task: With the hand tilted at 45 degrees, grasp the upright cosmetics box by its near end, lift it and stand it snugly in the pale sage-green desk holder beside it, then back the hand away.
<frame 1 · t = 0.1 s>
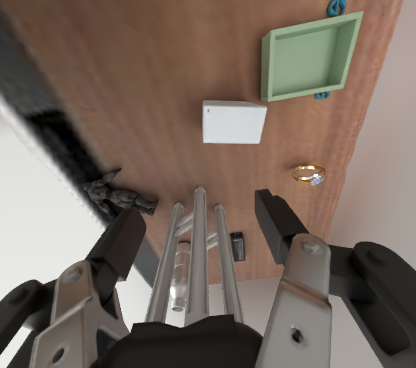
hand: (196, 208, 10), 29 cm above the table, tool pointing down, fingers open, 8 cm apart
multiport hub: (237, 244, 59), on the table
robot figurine: (124, 193, 45), on the table
holder: (297, 65, 30), on the table
ring: (299, 166, 42), on the table
cosmetics box: (225, 116, 34), on the table
stool: (199, 206, 48), on the table
plastic bottle: (185, 244, 58), on the table
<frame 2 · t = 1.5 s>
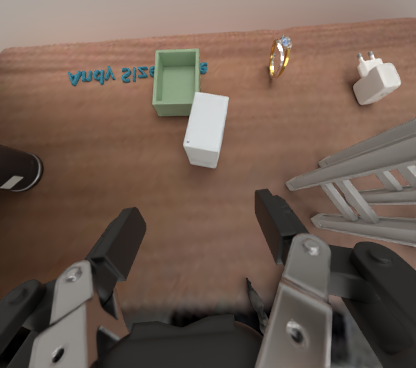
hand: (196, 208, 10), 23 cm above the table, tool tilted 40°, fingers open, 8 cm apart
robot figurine: (287, 295, 30), on the table
power adapter: (357, 86, 37), on the table
holder: (180, 90, 38), on the table
ring: (270, 74, 38), on the table
cosmetics box: (207, 146, 36), on the table
nameplate: (138, 75, 40), on the table, touching holder
stool: (320, 191, 33), on the table
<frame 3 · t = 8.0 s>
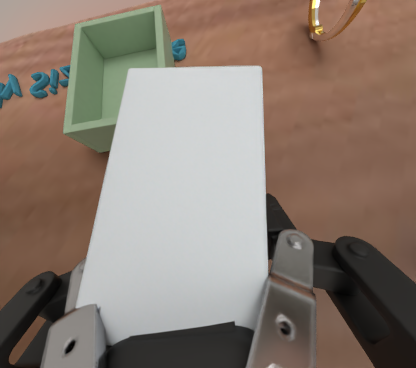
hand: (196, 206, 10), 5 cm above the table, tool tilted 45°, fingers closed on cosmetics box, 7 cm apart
holder: (138, 96, 19), on the table
ring: (312, 38, 19), on the table
cosmetics box: (207, 204, 16), on the table, touching gripper
nameplate: (63, 82, 22), on the table, touching holder
when the fingers open (6 cm above the table, at t = 18.2 s): cosmetics box stays where it is, resting on holder.
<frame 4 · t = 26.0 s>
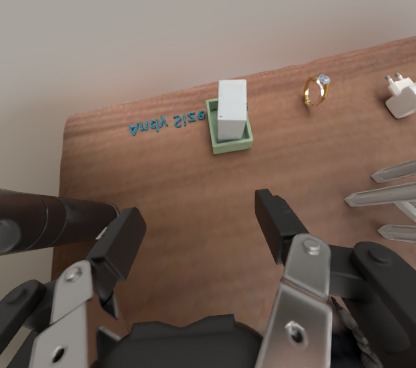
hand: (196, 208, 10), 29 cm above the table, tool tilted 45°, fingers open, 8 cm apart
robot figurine: (374, 309, 31), on the table
power adapter: (389, 102, 41), on the table
holder: (227, 128, 43), on the table
ring: (305, 103, 43), on the table
cosmetics box: (229, 127, 42), point 1 cm above the table, touching holder
nameplate: (187, 119, 45), on the table, touching holder
stool: (380, 203, 35), on the table
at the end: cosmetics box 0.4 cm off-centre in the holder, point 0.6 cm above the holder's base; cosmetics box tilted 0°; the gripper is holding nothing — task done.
